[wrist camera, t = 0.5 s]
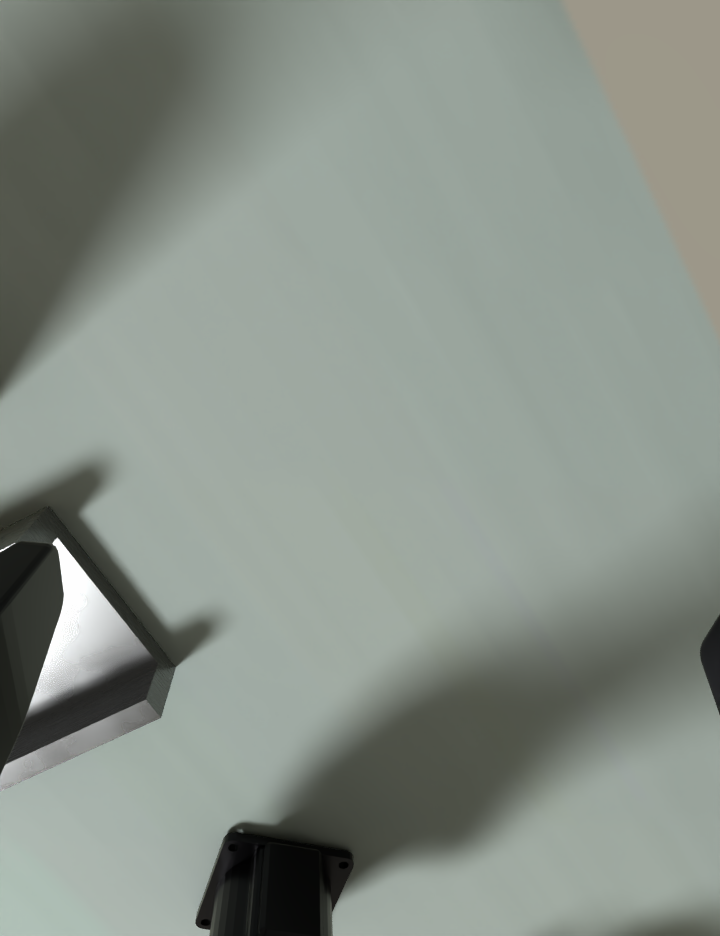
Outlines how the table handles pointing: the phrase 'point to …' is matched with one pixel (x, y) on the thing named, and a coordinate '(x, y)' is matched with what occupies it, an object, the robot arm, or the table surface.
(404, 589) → the table surface
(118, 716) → the track
